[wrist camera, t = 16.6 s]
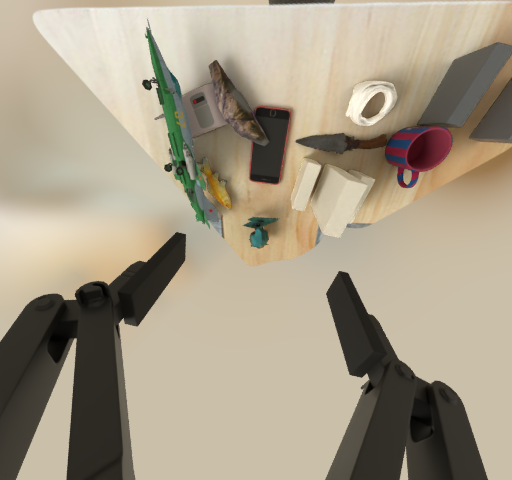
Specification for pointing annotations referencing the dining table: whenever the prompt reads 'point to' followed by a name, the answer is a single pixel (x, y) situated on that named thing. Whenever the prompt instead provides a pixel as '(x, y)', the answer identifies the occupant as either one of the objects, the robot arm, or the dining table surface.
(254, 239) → the figurine
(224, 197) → the fish
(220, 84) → the decorative rock
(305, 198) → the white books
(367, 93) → the white cloth wrap
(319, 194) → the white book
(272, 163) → the smartphone
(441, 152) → the cup
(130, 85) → the dining table surface
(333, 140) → the knife
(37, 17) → the dining table surface
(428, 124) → the pair of grey blocks
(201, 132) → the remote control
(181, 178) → the airplane
